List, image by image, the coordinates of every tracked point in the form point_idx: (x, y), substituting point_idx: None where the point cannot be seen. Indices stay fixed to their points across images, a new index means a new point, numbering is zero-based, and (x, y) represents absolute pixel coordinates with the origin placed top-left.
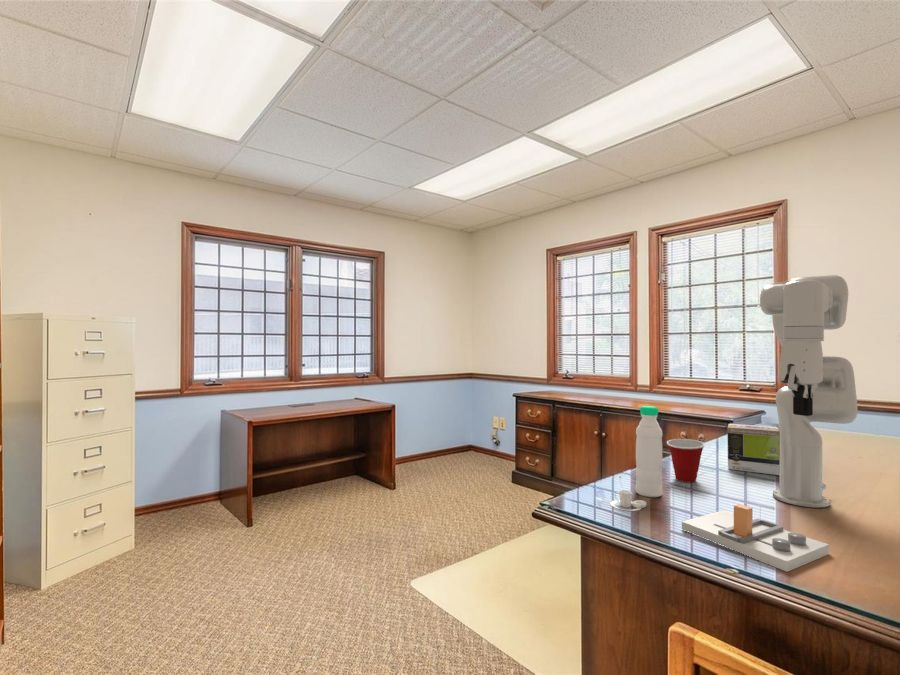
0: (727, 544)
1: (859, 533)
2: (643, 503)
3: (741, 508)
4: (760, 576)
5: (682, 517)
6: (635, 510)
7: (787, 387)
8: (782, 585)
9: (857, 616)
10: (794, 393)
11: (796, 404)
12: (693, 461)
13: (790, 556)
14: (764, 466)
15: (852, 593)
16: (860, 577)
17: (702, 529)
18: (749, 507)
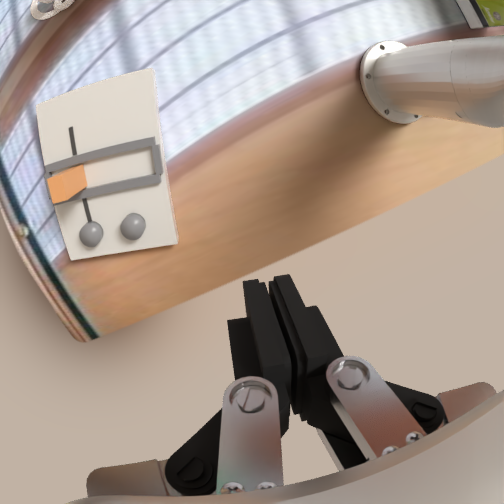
0: None
1: (316, 205)
2: (60, 7)
3: (50, 193)
4: (42, 251)
5: (88, 52)
6: (46, 18)
7: (88, 480)
8: (50, 271)
9: (75, 325)
10: (202, 433)
11: (232, 352)
12: None
13: (85, 252)
14: (468, 6)
15: (105, 305)
16: (149, 289)
17: (40, 141)
18: (64, 195)
